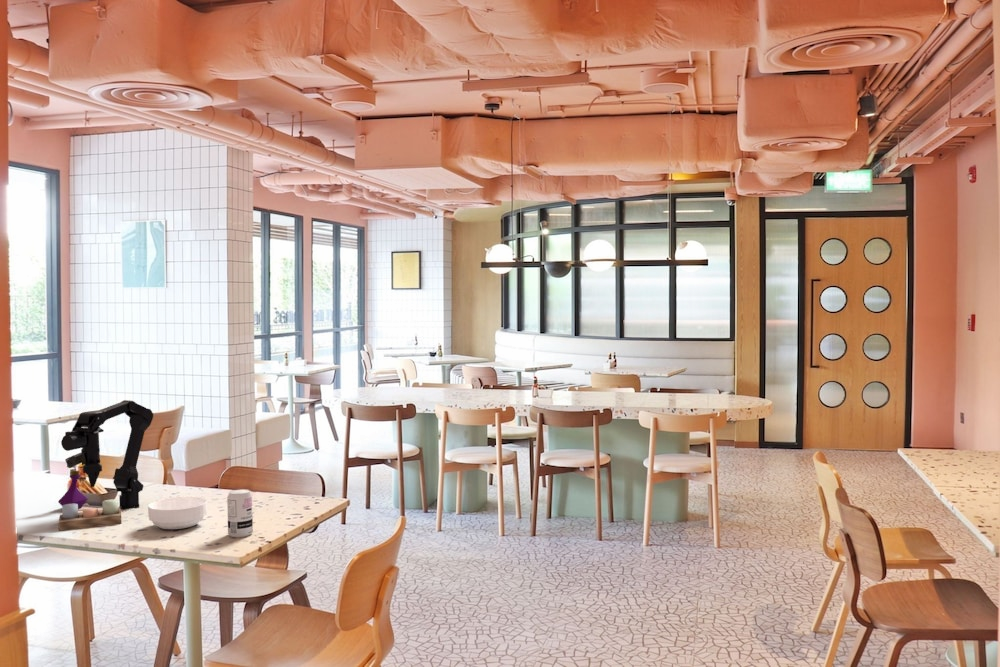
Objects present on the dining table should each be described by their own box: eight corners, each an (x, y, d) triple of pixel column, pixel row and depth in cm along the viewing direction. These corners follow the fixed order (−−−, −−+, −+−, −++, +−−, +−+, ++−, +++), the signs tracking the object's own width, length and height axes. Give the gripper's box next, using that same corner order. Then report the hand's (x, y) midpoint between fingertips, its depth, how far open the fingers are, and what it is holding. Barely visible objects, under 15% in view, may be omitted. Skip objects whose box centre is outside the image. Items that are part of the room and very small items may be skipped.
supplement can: (231, 531, 282) (230, 489, 281) (255, 531, 282) (254, 488, 282) (225, 538, 274) (224, 494, 273) (250, 537, 274) (249, 493, 274)
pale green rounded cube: (117, 511, 301) (117, 498, 300) (117, 514, 296) (117, 501, 296) (102, 513, 298) (102, 500, 298) (102, 516, 294) (102, 503, 294)
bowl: (142, 525, 291) (142, 501, 291) (198, 516, 303) (198, 494, 303) (156, 537, 276) (155, 512, 275) (214, 527, 287) (214, 504, 287)
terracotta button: (98, 520, 298) (97, 507, 298) (98, 523, 293) (98, 510, 293) (83, 522, 295) (82, 509, 295) (82, 525, 291) (82, 512, 291)
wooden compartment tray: (120, 516, 304) (120, 508, 304) (121, 523, 294) (121, 515, 293) (60, 522, 295) (59, 514, 295) (59, 530, 284) (58, 522, 284)
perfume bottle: (88, 506, 319) (87, 461, 318) (72, 511, 312) (71, 465, 311) (73, 505, 321) (72, 460, 321) (57, 509, 314) (56, 464, 314)
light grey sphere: (78, 515, 295) (77, 502, 295) (78, 518, 290) (77, 505, 290) (62, 517, 292) (62, 504, 292) (62, 520, 288) (62, 507, 288)
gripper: (65, 444, 305) (67, 484, 306) (66, 452, 289) (68, 495, 290) (98, 440, 310) (100, 481, 311) (101, 448, 294) (102, 491, 295)
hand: (92, 487), depth 302 cm, fingers closed
